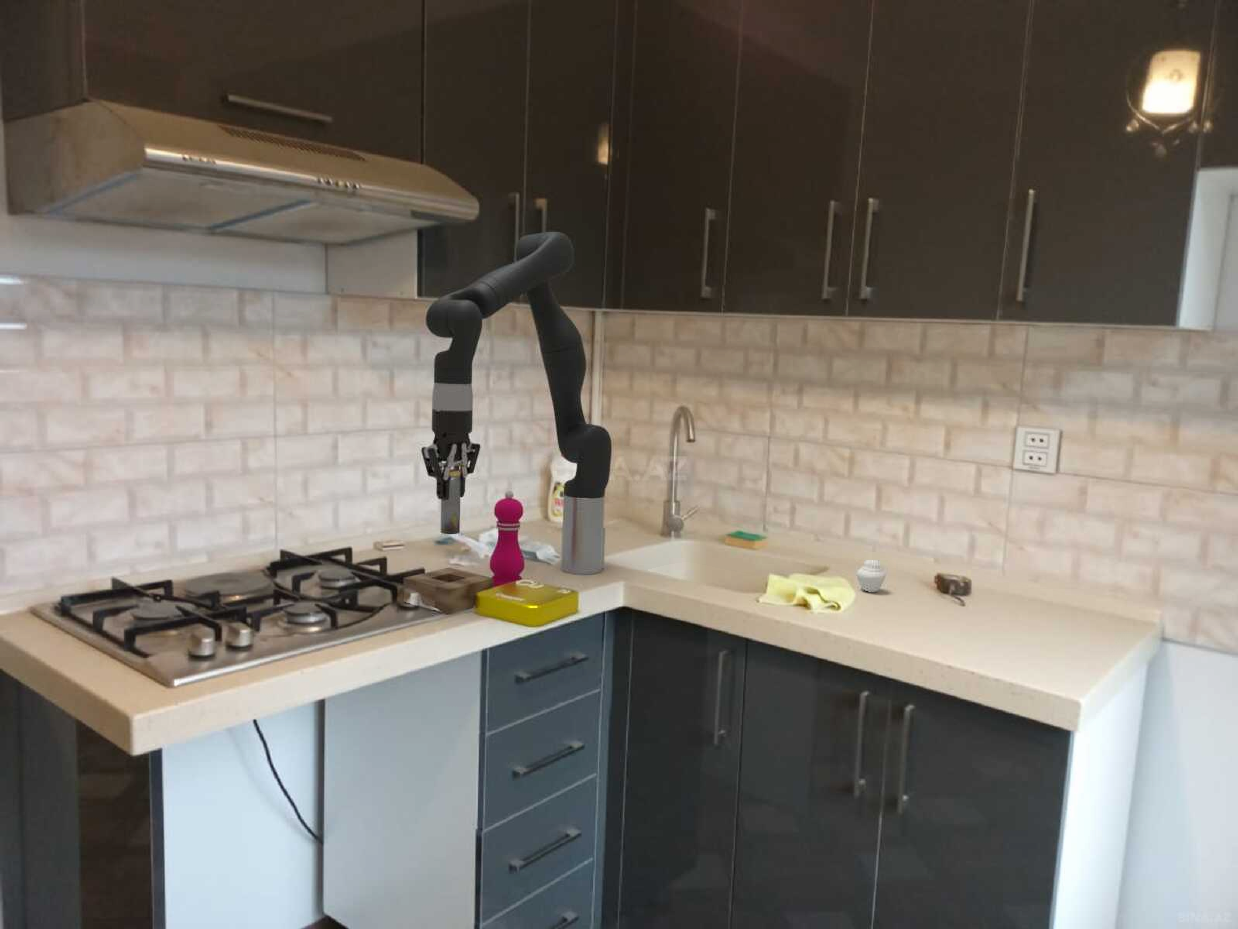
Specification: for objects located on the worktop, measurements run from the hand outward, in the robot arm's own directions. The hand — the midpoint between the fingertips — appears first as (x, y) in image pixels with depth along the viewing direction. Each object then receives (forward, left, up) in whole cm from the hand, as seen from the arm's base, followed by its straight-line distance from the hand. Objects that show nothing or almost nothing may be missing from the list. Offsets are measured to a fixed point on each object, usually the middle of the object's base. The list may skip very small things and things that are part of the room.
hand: (450, 497), depth 179 cm
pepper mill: (-18, -1, -21) cm, 28 cm away
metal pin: (0, 0, -7) cm, 7 cm away
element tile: (-6, +15, -21) cm, 27 cm away
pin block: (0, 0, -21) cm, 21 cm away
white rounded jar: (-70, +58, -21) cm, 94 cm away
